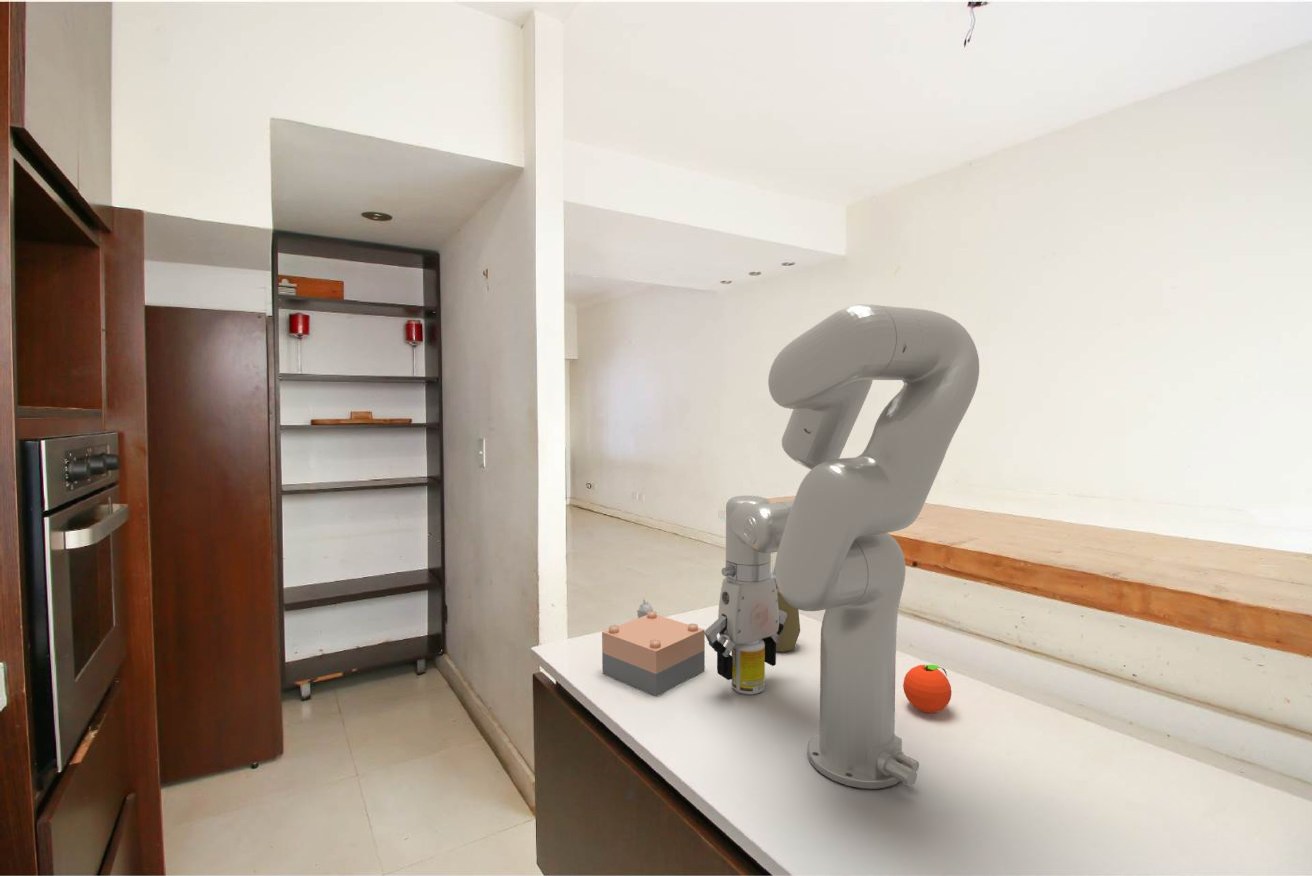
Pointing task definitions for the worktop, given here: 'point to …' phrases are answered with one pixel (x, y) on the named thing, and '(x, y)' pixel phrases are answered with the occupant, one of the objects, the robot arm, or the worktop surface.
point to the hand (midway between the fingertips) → (746, 669)
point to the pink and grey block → (653, 653)
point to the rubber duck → (644, 609)
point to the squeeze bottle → (787, 624)
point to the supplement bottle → (749, 667)
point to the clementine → (927, 688)
